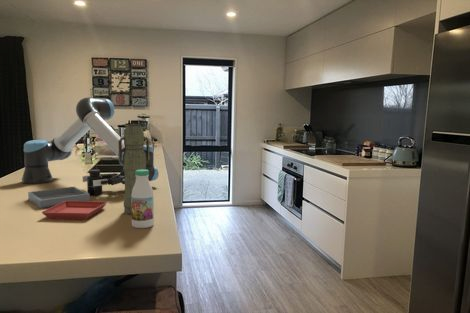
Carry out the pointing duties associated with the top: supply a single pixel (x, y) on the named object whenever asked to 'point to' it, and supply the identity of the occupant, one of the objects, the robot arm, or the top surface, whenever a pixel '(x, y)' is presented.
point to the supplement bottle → (90, 188)
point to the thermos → (132, 159)
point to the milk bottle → (142, 201)
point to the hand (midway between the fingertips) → (87, 181)
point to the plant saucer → (74, 210)
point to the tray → (57, 196)
